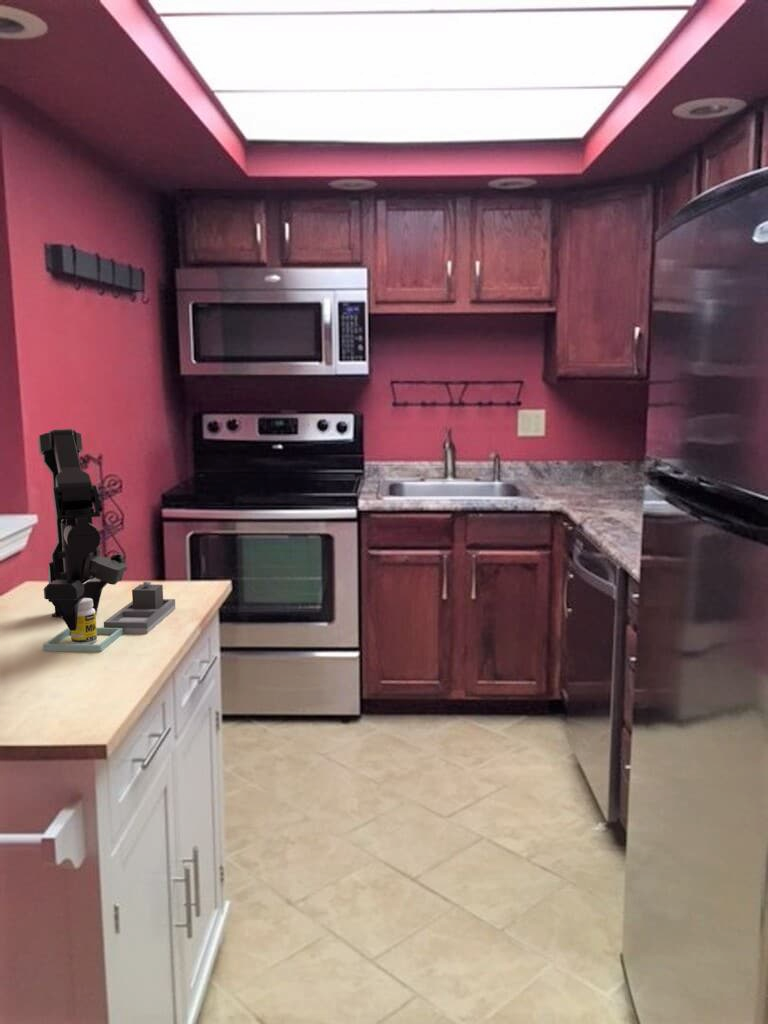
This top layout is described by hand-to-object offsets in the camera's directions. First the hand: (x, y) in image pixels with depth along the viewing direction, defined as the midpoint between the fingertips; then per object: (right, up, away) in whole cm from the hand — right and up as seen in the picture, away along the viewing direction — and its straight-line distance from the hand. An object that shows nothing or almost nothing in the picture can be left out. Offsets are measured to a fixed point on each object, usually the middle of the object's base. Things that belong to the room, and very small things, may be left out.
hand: (83, 623), depth 164 cm
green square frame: (0, -4, +1) cm, 4 cm away
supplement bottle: (0, -4, +1) cm, 4 cm away
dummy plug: (+7, -1, +19) cm, 21 cm away
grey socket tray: (+7, -1, +15) cm, 17 cm away
